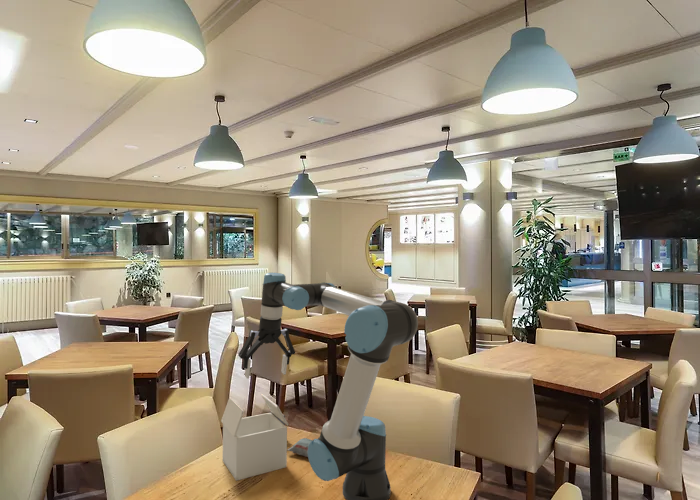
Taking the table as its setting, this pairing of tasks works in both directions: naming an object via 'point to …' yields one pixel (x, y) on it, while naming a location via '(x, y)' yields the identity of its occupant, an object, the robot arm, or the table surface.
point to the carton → (255, 446)
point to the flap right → (274, 409)
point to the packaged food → (301, 447)
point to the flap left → (232, 417)
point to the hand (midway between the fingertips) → (265, 375)
